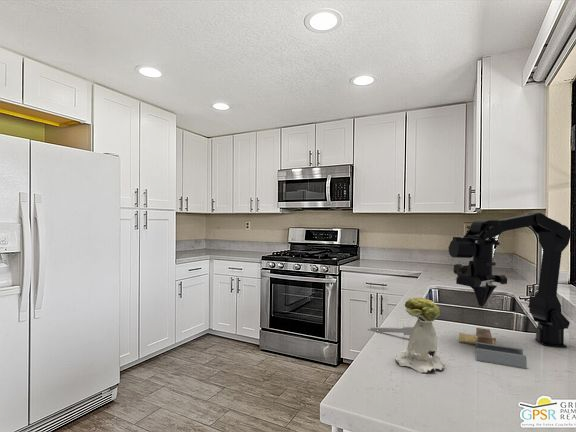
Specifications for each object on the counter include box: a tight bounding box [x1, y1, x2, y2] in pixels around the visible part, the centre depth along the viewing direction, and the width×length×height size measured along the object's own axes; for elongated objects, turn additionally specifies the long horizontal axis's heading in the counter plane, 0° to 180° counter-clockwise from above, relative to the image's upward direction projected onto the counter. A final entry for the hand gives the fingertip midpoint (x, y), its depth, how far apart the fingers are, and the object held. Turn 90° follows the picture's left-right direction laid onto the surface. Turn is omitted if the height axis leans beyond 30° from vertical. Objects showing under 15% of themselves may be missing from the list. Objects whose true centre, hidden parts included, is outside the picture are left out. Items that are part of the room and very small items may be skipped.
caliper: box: [367, 326, 414, 336], centre depth 120 cm, size 20×1×6 cm, turn 50°
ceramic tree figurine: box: [395, 297, 446, 374], centre depth 97 cm, size 12×13×18 cm
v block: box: [475, 342, 528, 369], centre depth 100 cm, size 12×7×3 cm, turn 64°
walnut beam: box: [475, 327, 494, 344], centre depth 112 cm, size 4×10×4 cm, turn 154°
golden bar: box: [458, 332, 497, 346], centre depth 113 cm, size 10×3×3 cm, turn 65°
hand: (481, 306), depth 112 cm, fingers closed
